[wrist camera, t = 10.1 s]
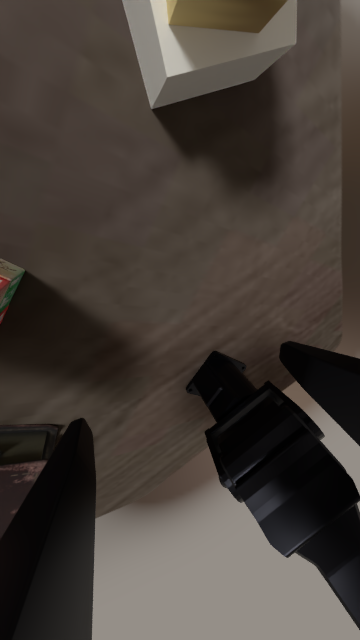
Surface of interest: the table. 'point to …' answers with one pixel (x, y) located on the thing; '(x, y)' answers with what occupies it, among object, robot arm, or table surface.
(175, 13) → the mustard cube
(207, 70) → the ivory block
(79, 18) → the table surface
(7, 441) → the diary
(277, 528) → the robot arm
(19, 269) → the stack of blocks
